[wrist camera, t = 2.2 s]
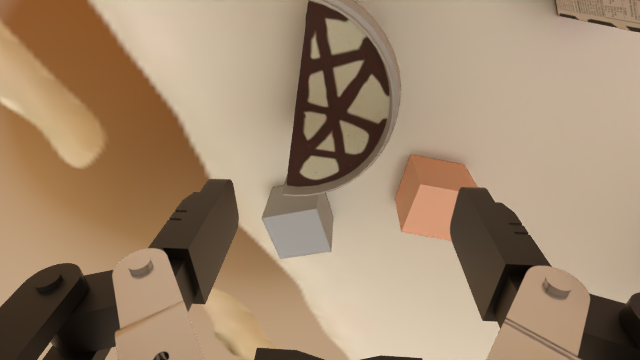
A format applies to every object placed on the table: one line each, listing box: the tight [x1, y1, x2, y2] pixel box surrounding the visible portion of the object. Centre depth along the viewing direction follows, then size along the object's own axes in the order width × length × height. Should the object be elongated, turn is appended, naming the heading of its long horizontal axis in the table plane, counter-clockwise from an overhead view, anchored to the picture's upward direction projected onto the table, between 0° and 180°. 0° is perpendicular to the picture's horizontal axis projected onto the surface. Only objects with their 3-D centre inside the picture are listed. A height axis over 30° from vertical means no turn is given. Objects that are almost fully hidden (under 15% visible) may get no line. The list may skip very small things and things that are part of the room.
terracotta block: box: [395, 155, 477, 241], centre depth 29 cm, size 5×5×5 cm
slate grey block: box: [262, 185, 333, 259], centre depth 32 cm, size 5×5×5 cm
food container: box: [282, 0, 401, 196], centre depth 22 cm, size 12×6×10 cm, turn 171°
